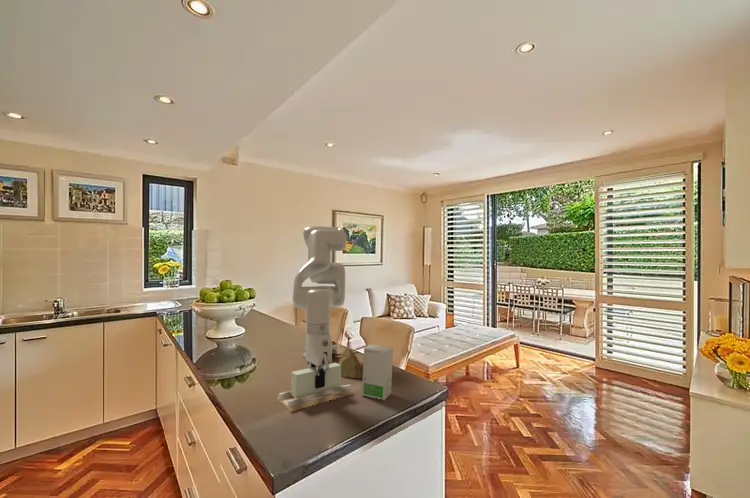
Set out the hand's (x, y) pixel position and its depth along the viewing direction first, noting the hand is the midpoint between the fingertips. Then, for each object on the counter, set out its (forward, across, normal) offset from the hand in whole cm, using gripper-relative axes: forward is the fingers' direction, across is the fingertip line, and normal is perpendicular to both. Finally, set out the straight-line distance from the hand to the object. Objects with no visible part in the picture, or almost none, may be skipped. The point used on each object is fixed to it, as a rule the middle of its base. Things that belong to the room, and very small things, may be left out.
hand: (316, 384), depth 109 cm
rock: (+4, +10, -19) cm, 22 cm away
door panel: (+2, 0, 0) cm, 2 cm away
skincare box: (+4, -10, -17) cm, 20 cm away
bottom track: (+4, 0, 0) cm, 4 cm away
